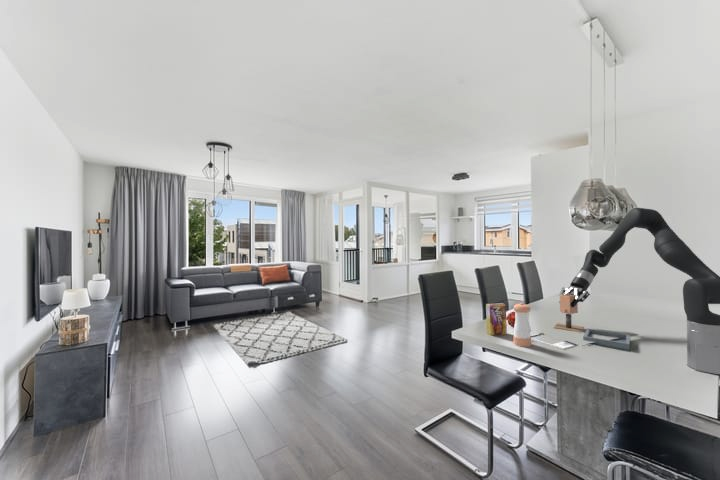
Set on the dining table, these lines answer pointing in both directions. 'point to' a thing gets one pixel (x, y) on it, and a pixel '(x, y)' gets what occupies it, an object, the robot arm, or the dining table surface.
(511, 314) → the dragon fruit
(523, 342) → the pepper shaker
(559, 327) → the post stand
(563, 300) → the orange-brown box
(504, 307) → the candy box
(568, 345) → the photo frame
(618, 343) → the tray
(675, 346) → the dining table surface
